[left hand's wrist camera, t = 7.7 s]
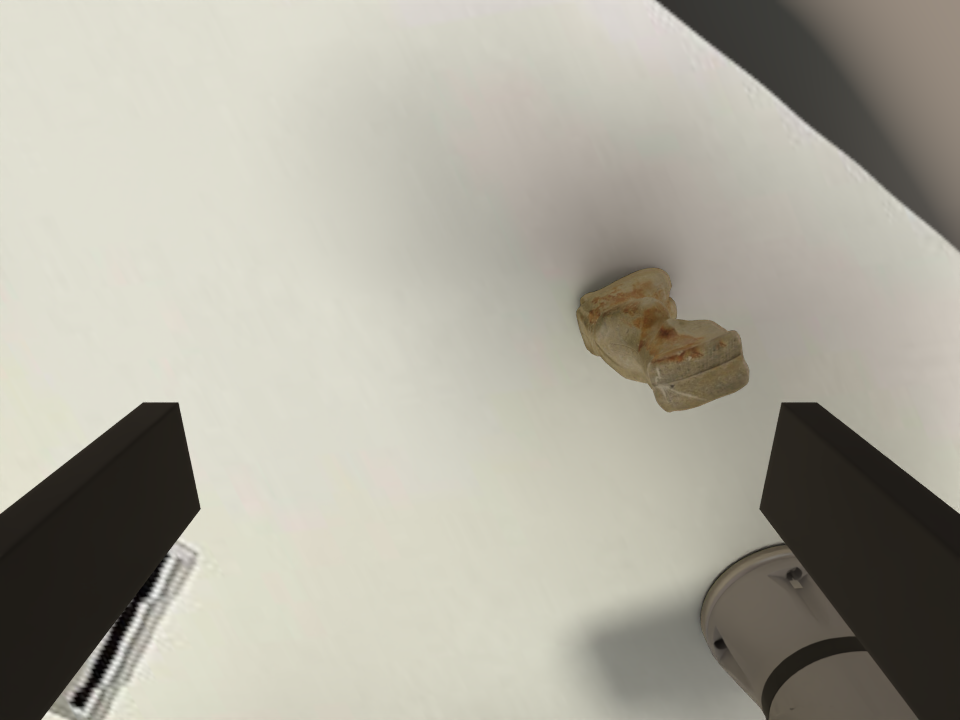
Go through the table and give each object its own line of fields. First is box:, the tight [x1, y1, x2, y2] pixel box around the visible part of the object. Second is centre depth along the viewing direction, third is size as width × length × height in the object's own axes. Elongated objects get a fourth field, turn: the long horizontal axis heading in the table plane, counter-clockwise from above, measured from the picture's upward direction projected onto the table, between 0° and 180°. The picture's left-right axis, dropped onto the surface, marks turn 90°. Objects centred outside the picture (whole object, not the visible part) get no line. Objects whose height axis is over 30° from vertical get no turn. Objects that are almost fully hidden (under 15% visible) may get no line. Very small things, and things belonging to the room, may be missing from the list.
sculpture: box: [576, 268, 749, 412], centre depth 36 cm, size 6×7×15 cm
